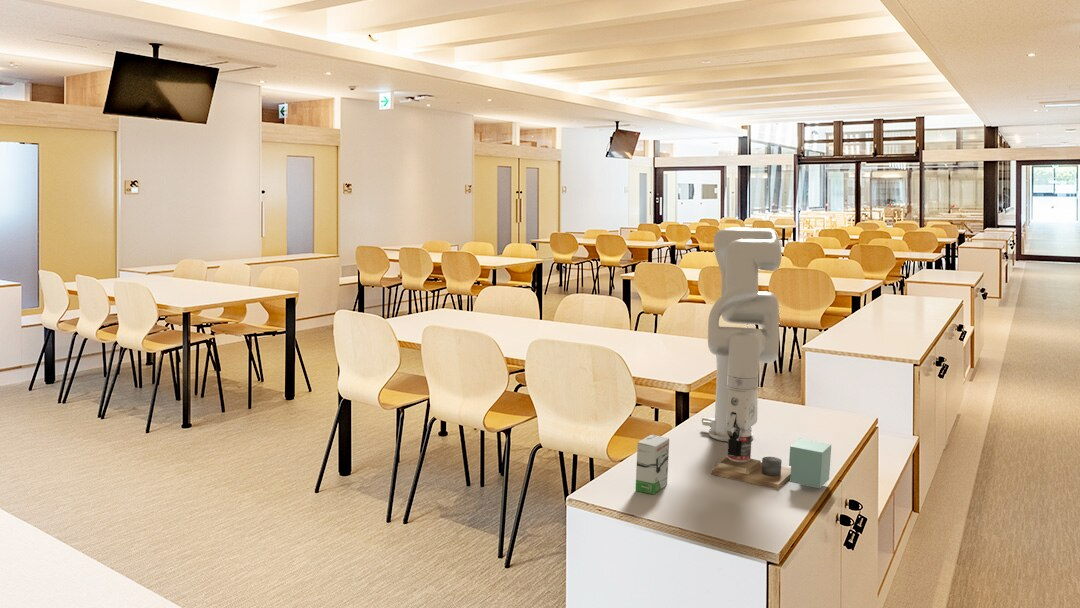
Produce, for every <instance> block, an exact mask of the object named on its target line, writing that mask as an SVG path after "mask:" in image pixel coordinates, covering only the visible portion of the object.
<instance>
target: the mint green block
mask: <svg viewBox="0 0 1080 608" xmlns="http://www.w3.org/2000/svg"><path fill="white" fill-rule="evenodd" d="M831 455H832V444H831V443H827V442H826V443H825V442H821V441H817V440H816V441H814V440H809V439H804V438H799V439H798V440H796V441H794V442H793V444H791V445H790V446H789V459H788V460H789V461H788V465H789V466H790V468H791V476H790V479H789V482H790V483H792V484H797V485H801V486H805V487H812V488H816V489H821V488H822V487H823V486H825V484H827V482H828V481H829V480H830V472H831V471H830V470H831Z"/></svg>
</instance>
